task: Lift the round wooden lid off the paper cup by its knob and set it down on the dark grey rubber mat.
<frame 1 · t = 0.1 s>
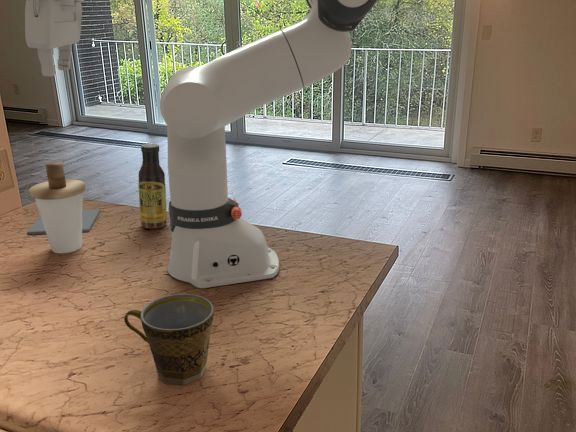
hand: (56, 72, 96), 39 cm above the counter, tool pointing down, fingers open, 8 cm apart
ceramic cup: (172, 371, 81), on the counter
mat: (65, 222, 137), on the counter
foam cup: (67, 248, 122), on the counter, touching lid
lid: (58, 191, 118), point 13 cm above the counter, touching foam cup
sauce bottle: (155, 226, 135), on the counter
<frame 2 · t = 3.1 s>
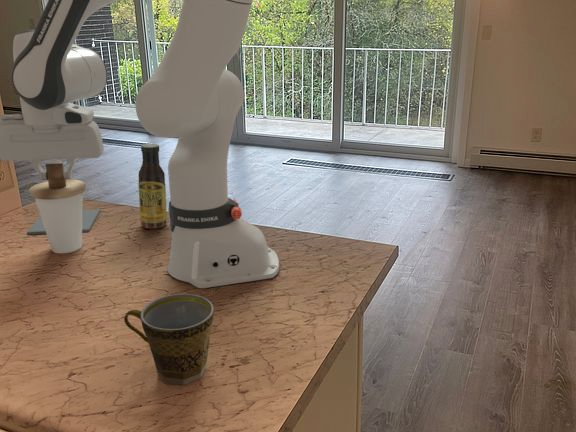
hand: (56, 179, 117), 16 cm above the counter, tool pointing down, fingers closed on lid, 3 cm apart
lid: (58, 191, 118), point 13 cm above the counter, touching foam cup, gripper
everything else where it was.
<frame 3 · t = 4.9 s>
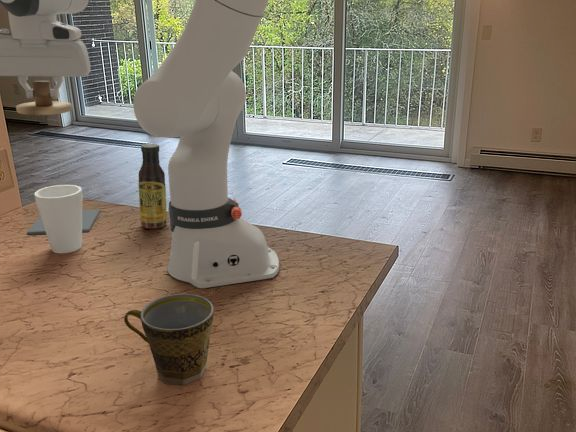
hand: (43, 97, 118), 31 cm above the counter, tool pointing down, fingers closed on lid, 3 cm apart
foam cup: (67, 248, 122), on the counter
lid: (44, 110, 119), point 29 cm above the counter, touching gripper
everything else where it was.
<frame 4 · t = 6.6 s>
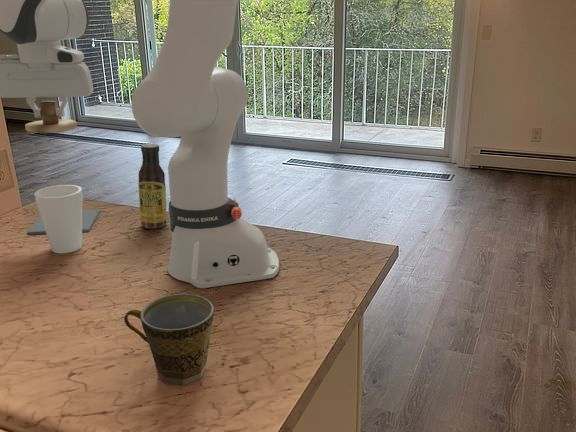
hand: (50, 116, 127), 26 cm above the counter, tool pointing down, fingers closed on lid, 3 cm apart
lid: (51, 127, 128), point 23 cm above the counter, touching gripper
everything else where it was.
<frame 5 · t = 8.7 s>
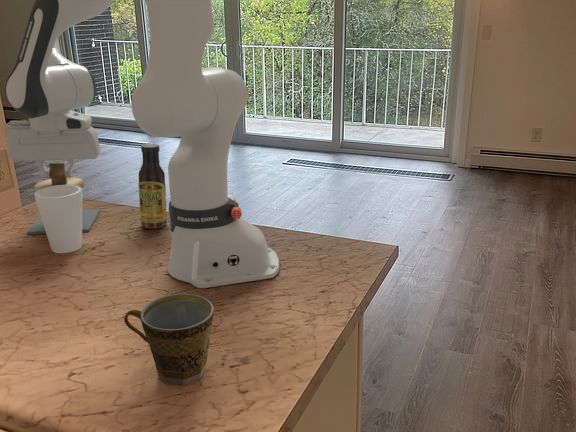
hand: (58, 177, 133), 11 cm above the counter, tool pointing down, fingers closed on lid, 3 cm apart
lid: (60, 187, 134), point 9 cm above the counter, touching gripper
everything else where it was.
when the fingers open (5 cm above the counter, at t = 10.4 s): lid drops 2 cm, resting on mat.
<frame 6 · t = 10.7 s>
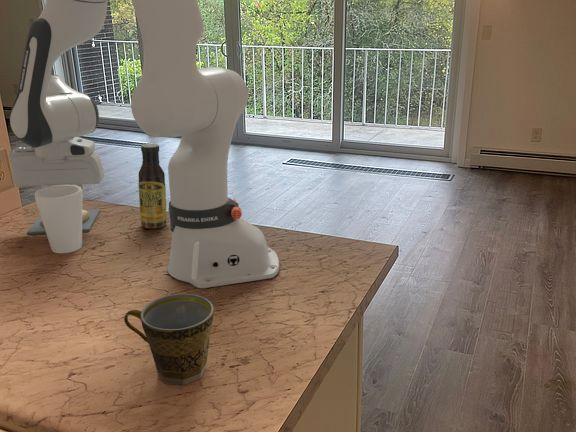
hand: (62, 201, 135), 5 cm above the counter, tool pointing down, fingers open, 6 cm apart
lid: (65, 219, 136), point 1 cm above the counter, touching mat
everything else where it was.
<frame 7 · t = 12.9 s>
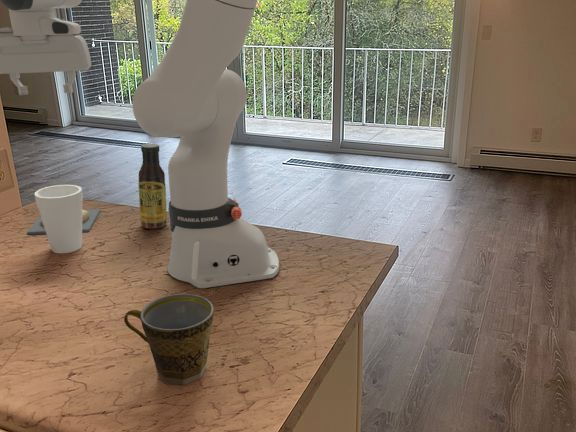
hand: (46, 93, 121), 32 cm above the counter, tool pointing down, fingers open, 8 cm apart
nothing on the counter moved.
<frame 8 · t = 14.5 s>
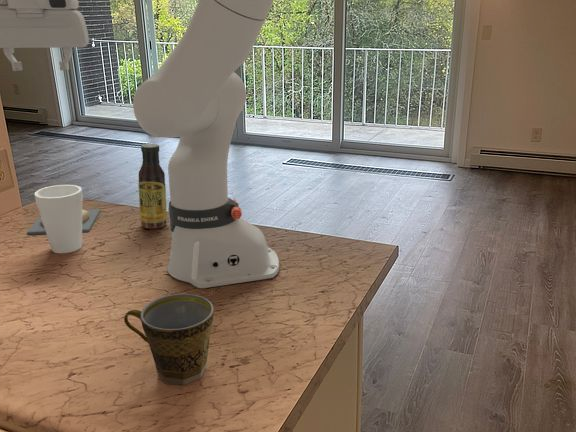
hand: (41, 70, 116), 37 cm above the counter, tool pointing down, fingers open, 8 cm apart
nothing on the counter moved.
at the end: lid inside the target area on the mat (0.1 cm from its centre), point 0.6 cm above the mat's base; the gripper is holding nothing; foam cup tilted 0° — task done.
